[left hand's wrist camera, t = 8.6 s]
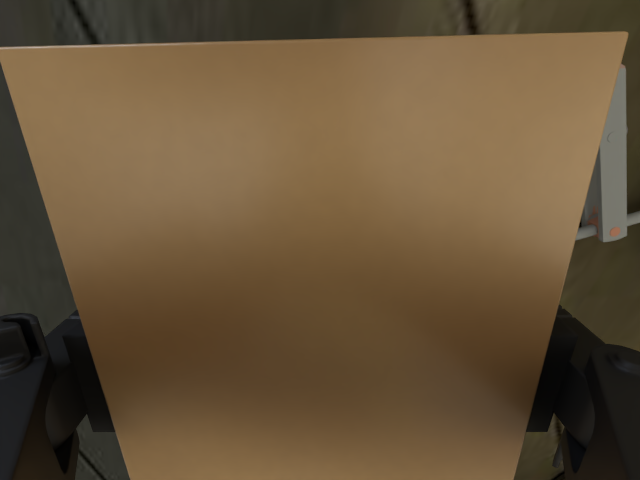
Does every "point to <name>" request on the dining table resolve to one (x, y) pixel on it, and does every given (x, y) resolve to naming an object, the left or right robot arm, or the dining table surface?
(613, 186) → the clamp
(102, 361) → the wide beam
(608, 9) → the dining table surface
